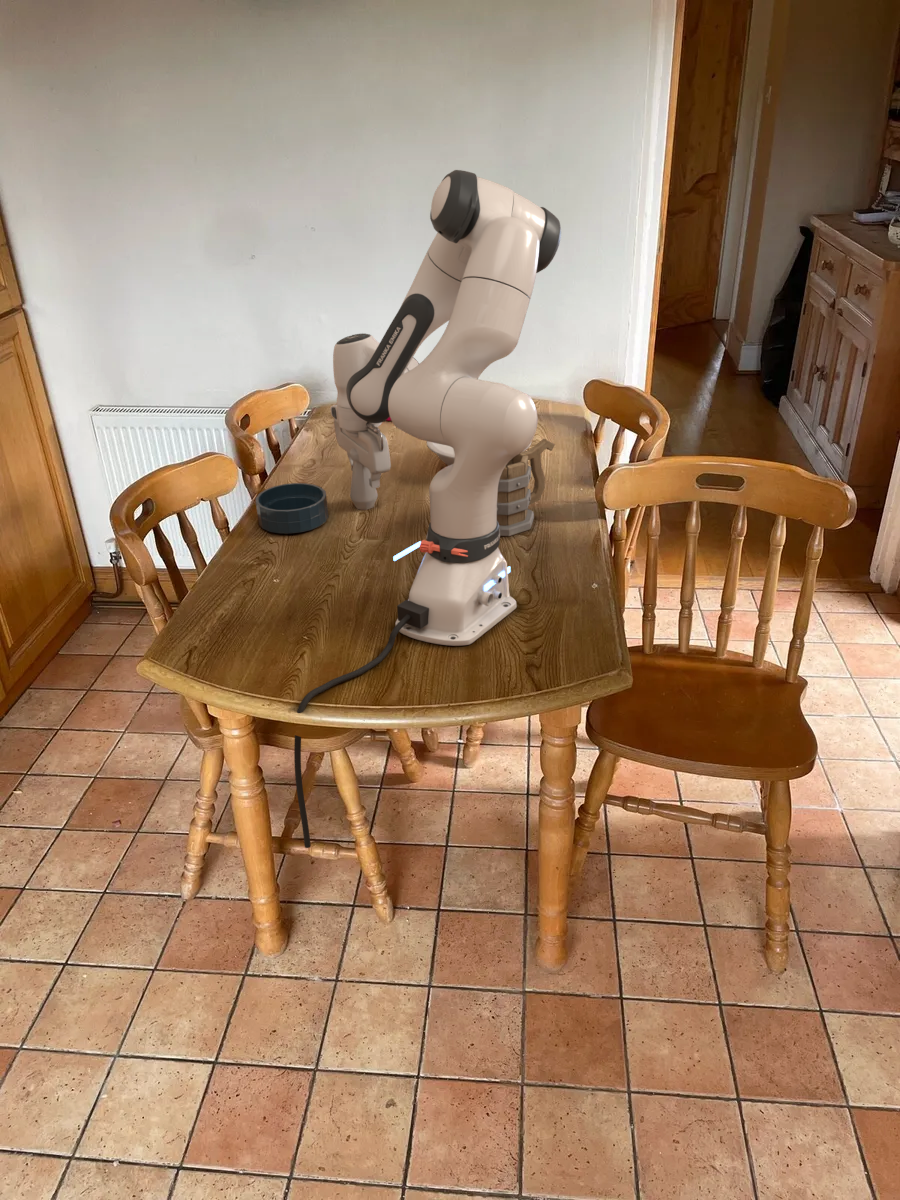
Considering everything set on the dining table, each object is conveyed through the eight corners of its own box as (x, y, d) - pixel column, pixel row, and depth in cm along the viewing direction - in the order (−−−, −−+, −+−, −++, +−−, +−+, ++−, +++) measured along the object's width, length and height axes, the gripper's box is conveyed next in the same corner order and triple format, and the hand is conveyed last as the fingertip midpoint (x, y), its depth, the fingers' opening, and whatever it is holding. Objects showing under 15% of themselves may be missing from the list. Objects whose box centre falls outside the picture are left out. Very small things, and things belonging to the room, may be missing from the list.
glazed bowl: (304, 540, 183) (301, 515, 180) (245, 529, 188) (241, 504, 185) (341, 512, 194) (338, 488, 191) (284, 502, 199) (281, 479, 196)
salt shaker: (374, 512, 194) (369, 453, 187) (347, 510, 195) (342, 452, 188) (381, 501, 198) (377, 443, 192) (355, 499, 200) (350, 442, 193)
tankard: (494, 542, 180) (493, 469, 172) (457, 519, 189) (455, 450, 182) (573, 516, 189) (576, 446, 182) (535, 496, 198) (536, 429, 191)
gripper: (396, 427, 180) (400, 492, 187) (354, 399, 196) (360, 460, 203) (366, 434, 178) (372, 499, 185) (326, 405, 193) (333, 466, 200)
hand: (365, 479), depth 194 cm, fingers open, 8 cm apart
